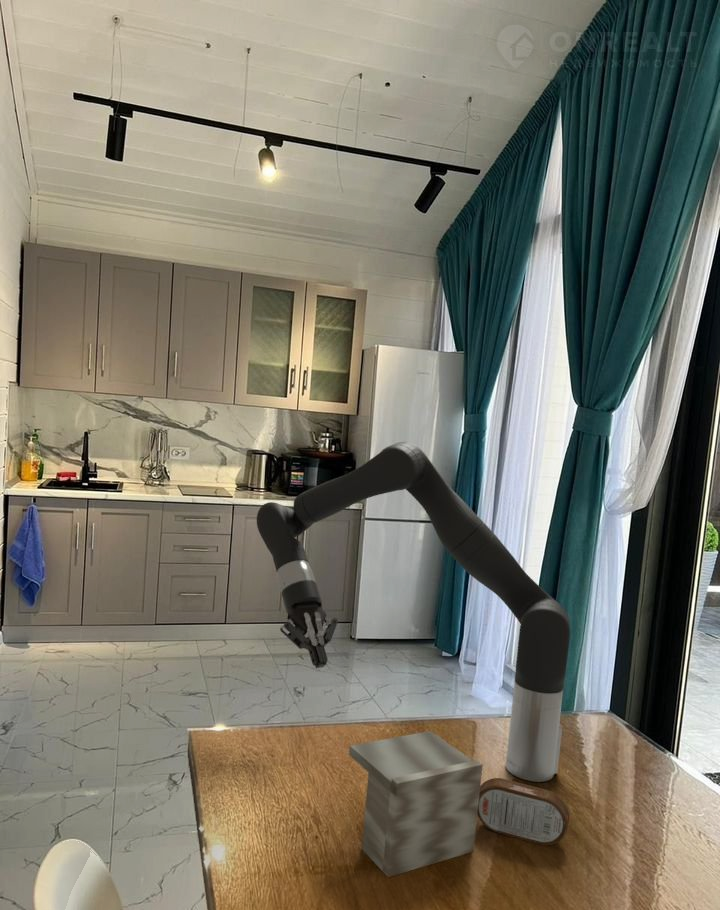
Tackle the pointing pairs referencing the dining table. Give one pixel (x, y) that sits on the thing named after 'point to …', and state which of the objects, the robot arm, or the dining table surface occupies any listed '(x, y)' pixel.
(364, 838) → the overhanging lid box
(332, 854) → the dining table surface
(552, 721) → the robot arm
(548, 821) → the tin
